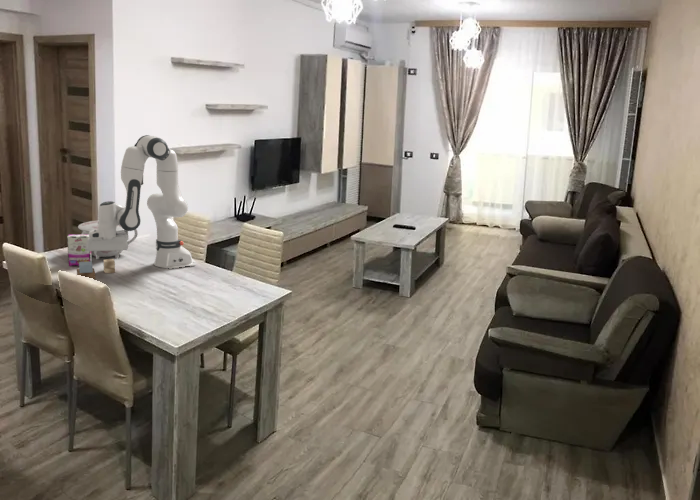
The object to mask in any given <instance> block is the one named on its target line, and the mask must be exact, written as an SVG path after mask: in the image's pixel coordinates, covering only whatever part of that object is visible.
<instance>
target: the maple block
mask: <svg viewBox="0 0 700 500" xmlns="http://www.w3.org/2000/svg"><path fill="white" fill-rule="evenodd" d="M103 272H104V274H112V273H113V274H114V273H116V262H115V259H114V258H108V259H105V258H104V259H103Z"/></svg>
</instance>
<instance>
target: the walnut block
mask: <svg viewBox="0 0 700 500" xmlns="http://www.w3.org/2000/svg"><path fill="white" fill-rule="evenodd" d="M77 275H81V276H85V277H89V278H93V279H95V280H96V271H95V267H93V272H92V273H80V271H79V268H76V276H77Z"/></svg>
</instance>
